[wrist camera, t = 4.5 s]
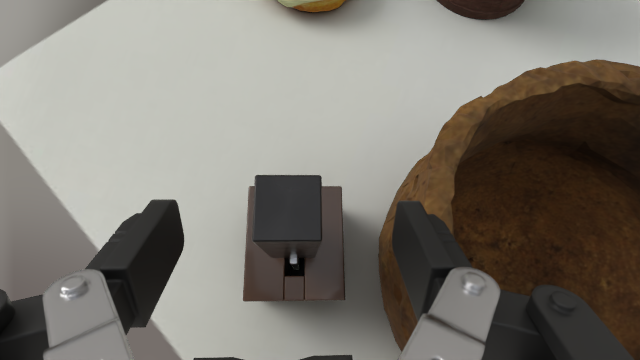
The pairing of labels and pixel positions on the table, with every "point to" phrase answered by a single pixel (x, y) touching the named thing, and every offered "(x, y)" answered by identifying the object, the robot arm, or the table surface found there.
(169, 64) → the table surface
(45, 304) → the robot arm
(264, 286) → the knife block
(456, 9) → the black ball on stand
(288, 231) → the knife
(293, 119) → the table surface
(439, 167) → the bowl
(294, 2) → the decorated donut
